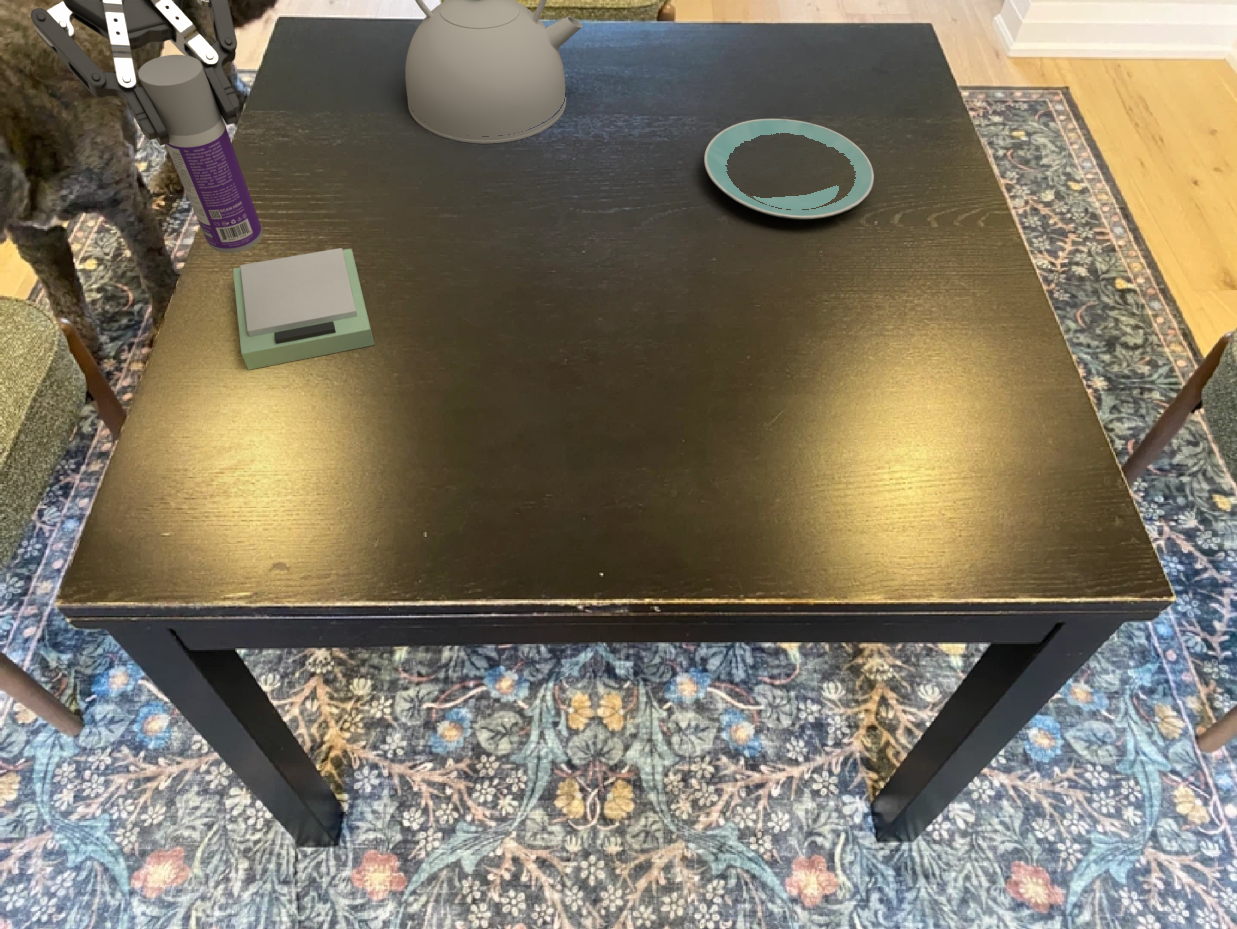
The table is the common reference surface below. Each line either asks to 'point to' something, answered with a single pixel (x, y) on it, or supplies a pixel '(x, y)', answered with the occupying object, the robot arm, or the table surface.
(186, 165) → the container
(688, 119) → the table surface
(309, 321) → the scale
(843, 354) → the table surface
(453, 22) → the kettle
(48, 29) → the robot arm
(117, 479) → the table surface
